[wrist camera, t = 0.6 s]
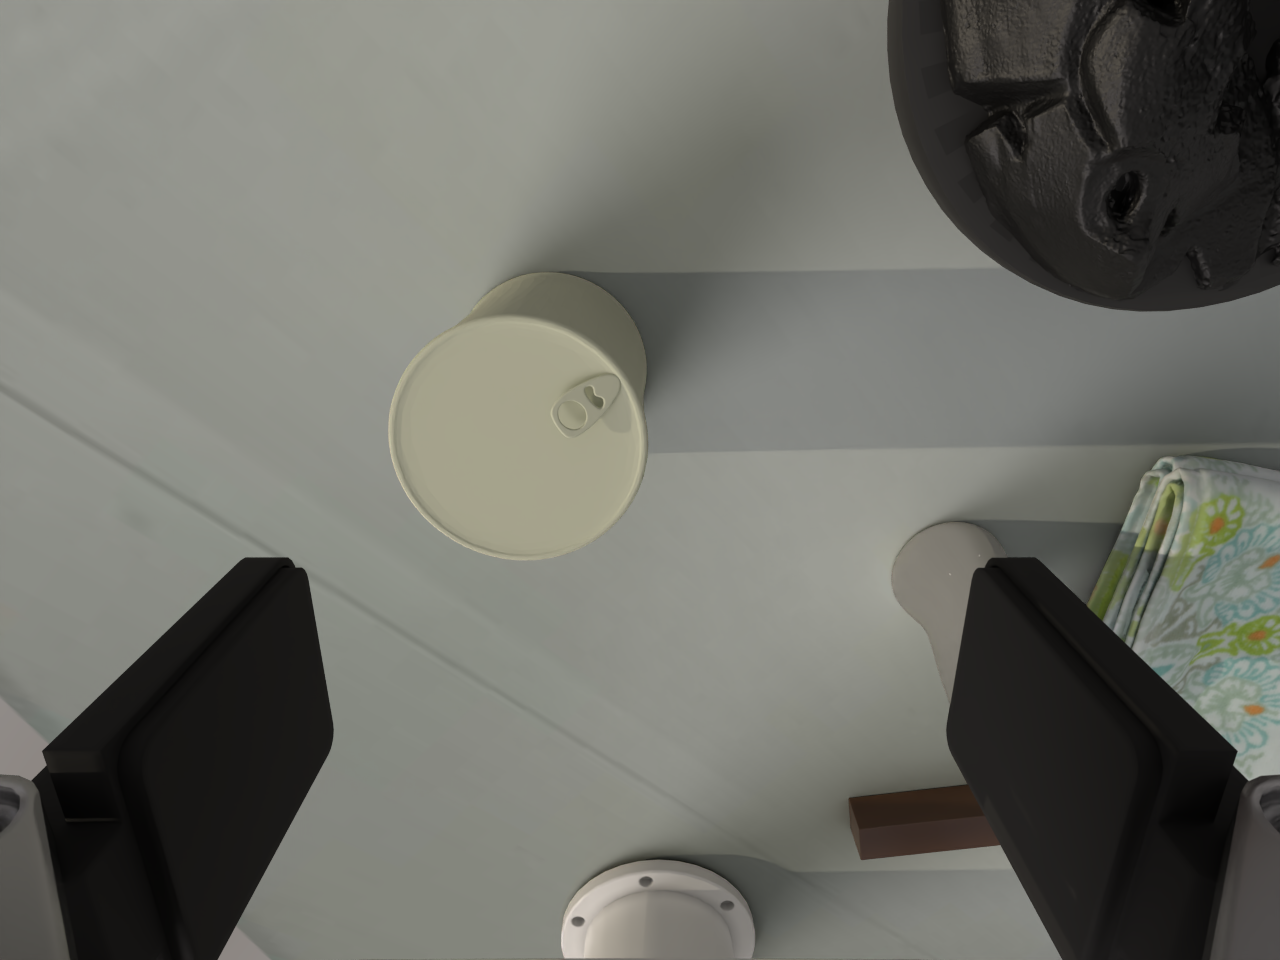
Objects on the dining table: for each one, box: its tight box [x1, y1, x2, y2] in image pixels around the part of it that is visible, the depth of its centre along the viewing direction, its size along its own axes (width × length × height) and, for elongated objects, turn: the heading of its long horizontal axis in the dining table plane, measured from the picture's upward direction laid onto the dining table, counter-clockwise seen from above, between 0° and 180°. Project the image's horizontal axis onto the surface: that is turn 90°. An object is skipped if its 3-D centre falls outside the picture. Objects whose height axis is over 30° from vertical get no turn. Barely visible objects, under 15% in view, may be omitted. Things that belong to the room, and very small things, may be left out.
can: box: [389, 272, 648, 560], centre depth 33 cm, size 9×9×12 cm
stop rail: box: [849, 785, 1000, 860], centre depth 47 cm, size 2×10×2 cm, turn 98°
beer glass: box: [891, 522, 1008, 703], centre depth 35 cm, size 7×7×15 cm
